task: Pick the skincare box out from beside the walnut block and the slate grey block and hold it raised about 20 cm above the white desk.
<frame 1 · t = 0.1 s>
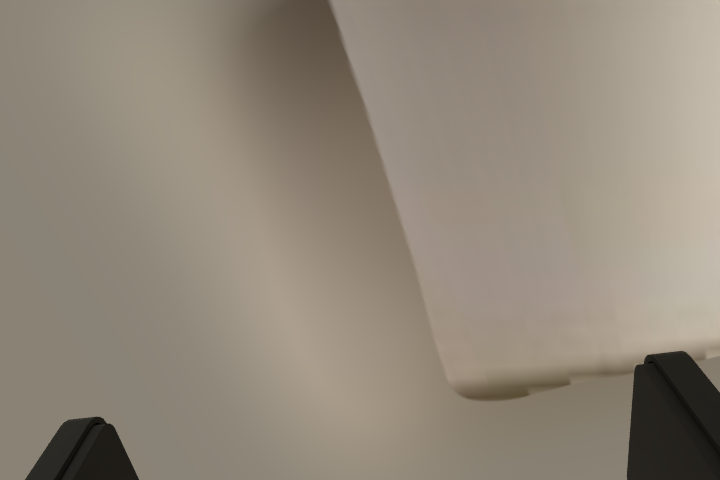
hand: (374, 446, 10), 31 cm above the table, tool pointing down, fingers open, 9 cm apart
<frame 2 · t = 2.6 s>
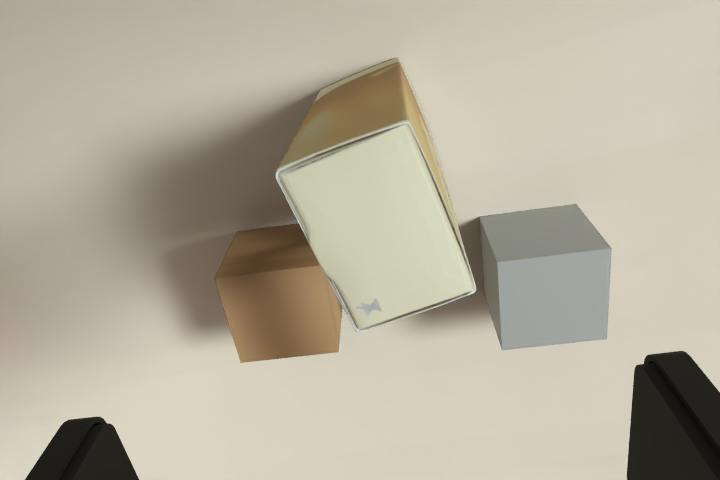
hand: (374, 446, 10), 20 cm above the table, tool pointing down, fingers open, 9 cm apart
walnut block: (292, 264, 31), on the table
slate grey block: (528, 251, 31), on the table
skincare box: (380, 127, 28), on the table
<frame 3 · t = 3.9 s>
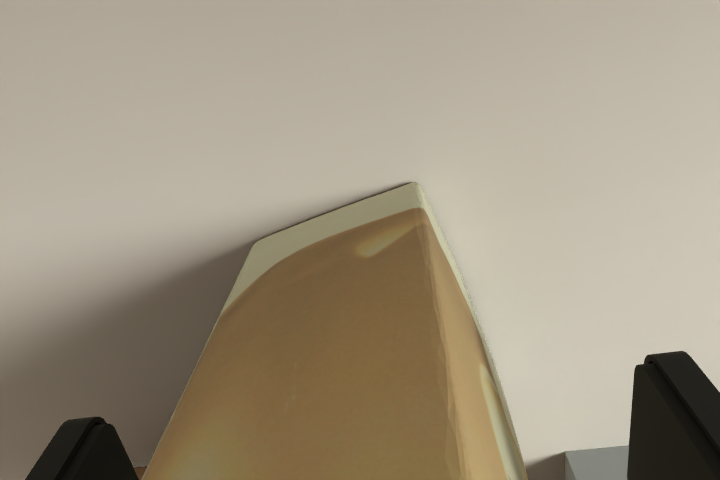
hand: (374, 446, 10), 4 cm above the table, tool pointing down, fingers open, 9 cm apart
skincare box: (379, 305, 14), on the table
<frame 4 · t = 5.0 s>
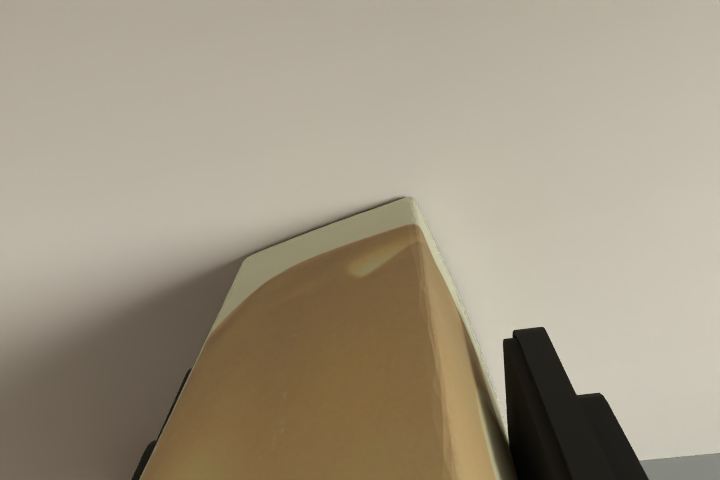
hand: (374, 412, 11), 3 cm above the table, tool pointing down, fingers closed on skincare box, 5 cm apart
skincare box: (373, 321, 14), on the table, touching gripper
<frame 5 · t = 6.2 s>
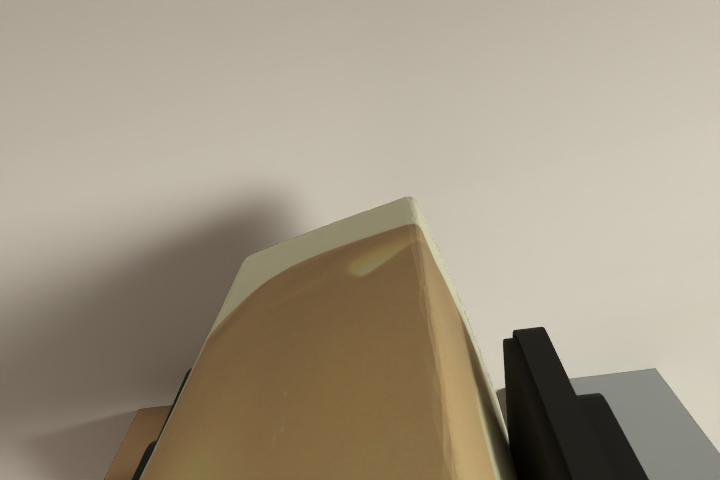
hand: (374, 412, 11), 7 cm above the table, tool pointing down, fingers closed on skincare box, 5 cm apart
walnut block: (225, 451, 21), on the table
slate grey block: (579, 430, 20), on the table
skincare box: (373, 320, 14), point 4 cm above the table, touching gripper
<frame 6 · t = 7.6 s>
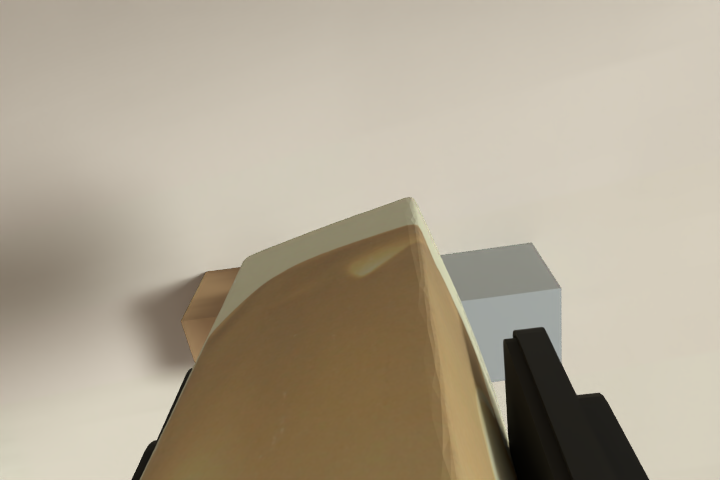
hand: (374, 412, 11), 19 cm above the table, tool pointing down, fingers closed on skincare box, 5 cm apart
walnut block: (260, 303, 32), on the table
slate grey block: (488, 287, 32), on the table
skincare box: (373, 321, 14), point 16 cm above the table, touching gripper
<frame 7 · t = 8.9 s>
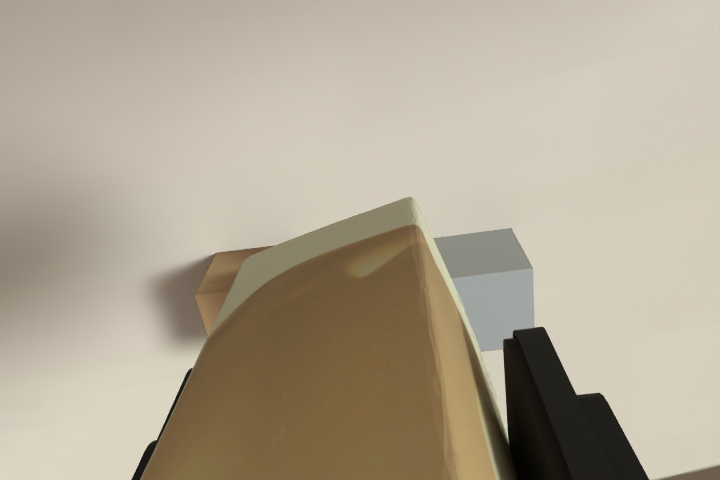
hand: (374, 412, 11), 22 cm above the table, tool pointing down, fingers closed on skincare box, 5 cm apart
walnut block: (265, 282, 36), on the table
slate grey block: (471, 269, 35), on the table
skincare box: (373, 321, 14), point 19 cm above the table, touching gripper
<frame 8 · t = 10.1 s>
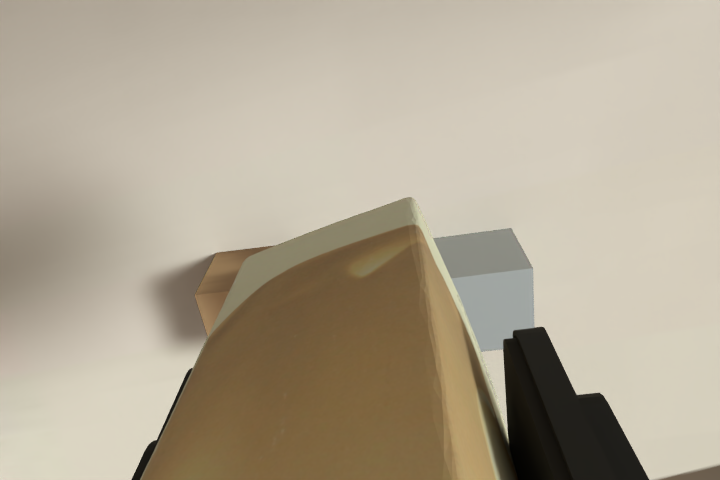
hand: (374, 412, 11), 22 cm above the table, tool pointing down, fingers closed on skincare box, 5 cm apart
walnut block: (265, 282, 36), on the table
slate grey block: (471, 269, 35), on the table
skincare box: (373, 321, 14), point 19 cm above the table, touching gripper
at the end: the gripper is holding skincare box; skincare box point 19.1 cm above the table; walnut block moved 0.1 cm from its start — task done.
